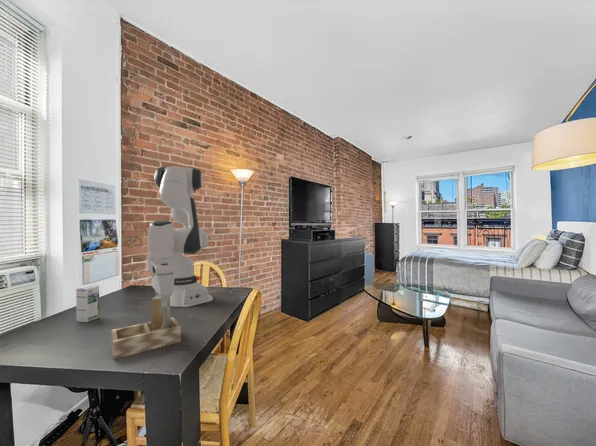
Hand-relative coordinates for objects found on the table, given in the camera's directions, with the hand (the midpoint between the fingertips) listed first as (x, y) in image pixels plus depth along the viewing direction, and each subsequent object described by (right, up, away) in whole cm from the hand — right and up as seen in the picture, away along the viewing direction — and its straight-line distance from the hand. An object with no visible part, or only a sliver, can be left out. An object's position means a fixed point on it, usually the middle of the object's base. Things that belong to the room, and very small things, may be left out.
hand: (161, 303), depth 93 cm
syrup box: (-43, -13, +20) cm, 49 cm away
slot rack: (-4, -13, -3) cm, 14 cm away
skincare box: (0, -10, 0) cm, 10 cm away
